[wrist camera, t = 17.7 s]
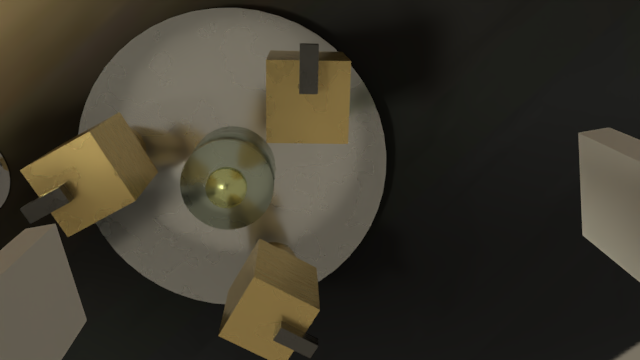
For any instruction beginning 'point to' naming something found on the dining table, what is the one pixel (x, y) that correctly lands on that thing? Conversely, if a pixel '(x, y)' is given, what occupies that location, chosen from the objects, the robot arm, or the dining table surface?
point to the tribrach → (230, 155)
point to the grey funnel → (4, 180)
